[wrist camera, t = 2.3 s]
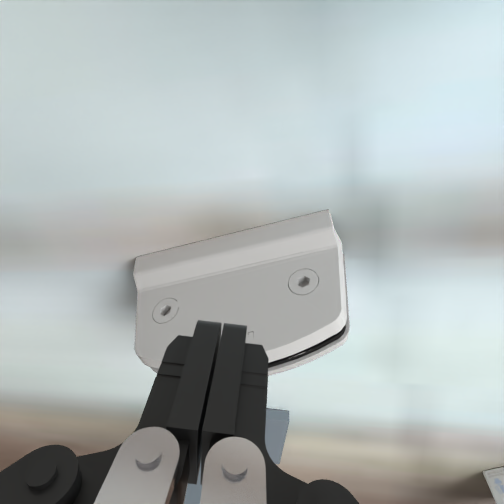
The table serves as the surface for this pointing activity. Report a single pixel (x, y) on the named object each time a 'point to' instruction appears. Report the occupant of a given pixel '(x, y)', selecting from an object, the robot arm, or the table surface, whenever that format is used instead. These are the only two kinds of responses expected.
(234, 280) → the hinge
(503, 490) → the light bulb box
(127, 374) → the table surface
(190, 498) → the press frame
